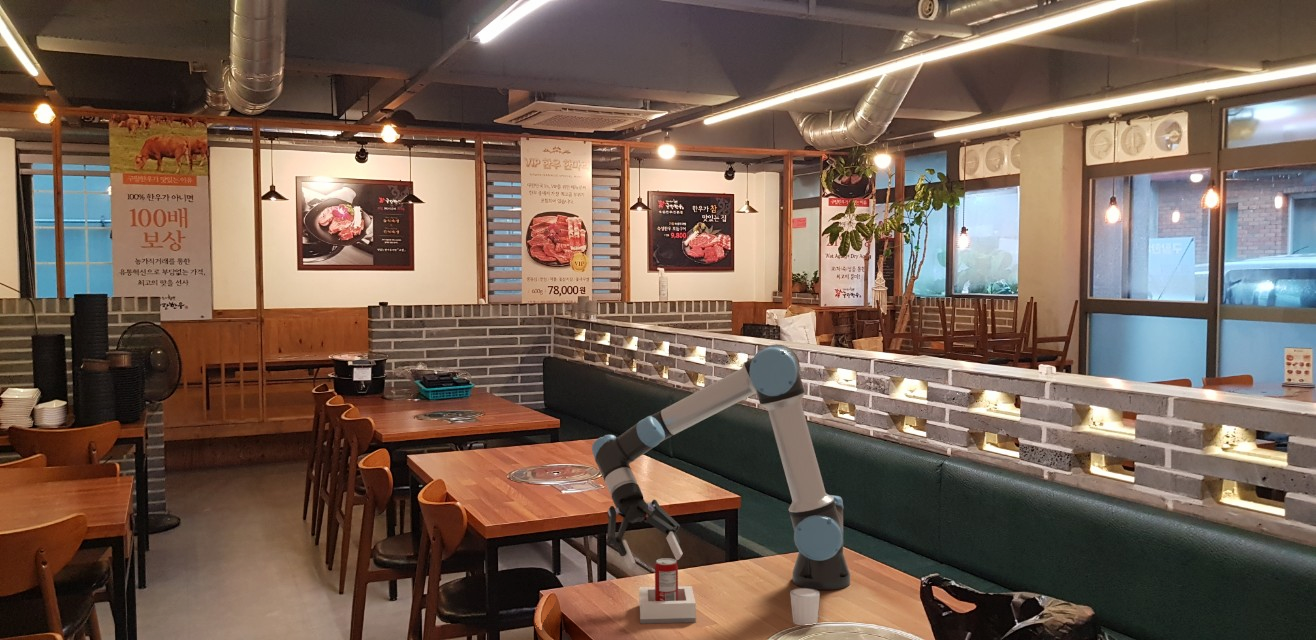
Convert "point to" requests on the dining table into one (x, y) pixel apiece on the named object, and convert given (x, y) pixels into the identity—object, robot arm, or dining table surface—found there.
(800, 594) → the shot glass
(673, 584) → the soda can
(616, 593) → the dining table surface
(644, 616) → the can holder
